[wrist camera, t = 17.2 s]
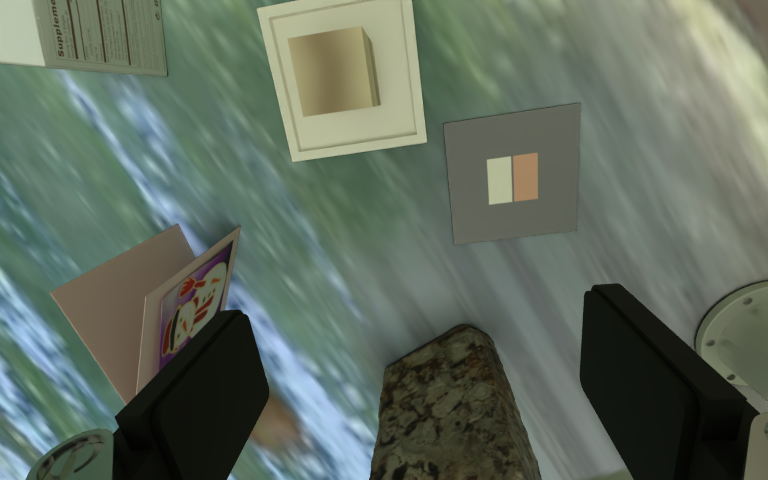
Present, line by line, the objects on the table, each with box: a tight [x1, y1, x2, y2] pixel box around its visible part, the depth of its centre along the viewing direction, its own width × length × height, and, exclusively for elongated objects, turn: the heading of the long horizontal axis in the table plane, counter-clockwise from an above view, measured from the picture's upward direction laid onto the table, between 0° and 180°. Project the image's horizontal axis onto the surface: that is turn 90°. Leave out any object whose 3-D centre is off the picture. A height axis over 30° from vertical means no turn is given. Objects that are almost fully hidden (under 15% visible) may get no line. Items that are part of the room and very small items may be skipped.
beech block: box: [287, 26, 381, 117], centre depth 29 cm, size 5×5×8 cm
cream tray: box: [257, 0, 427, 162], centre depth 32 cm, size 13×13×2 cm
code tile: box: [443, 103, 581, 245], centre depth 35 cm, size 12×12×1 cm
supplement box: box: [0, 0, 167, 77], centre depth 27 cm, size 7×7×13 cm
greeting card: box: [50, 224, 241, 405], centre depth 34 cm, size 11×7×15 cm, turn 162°
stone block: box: [369, 325, 542, 480], centre depth 34 cm, size 13×7×20 cm, turn 131°
